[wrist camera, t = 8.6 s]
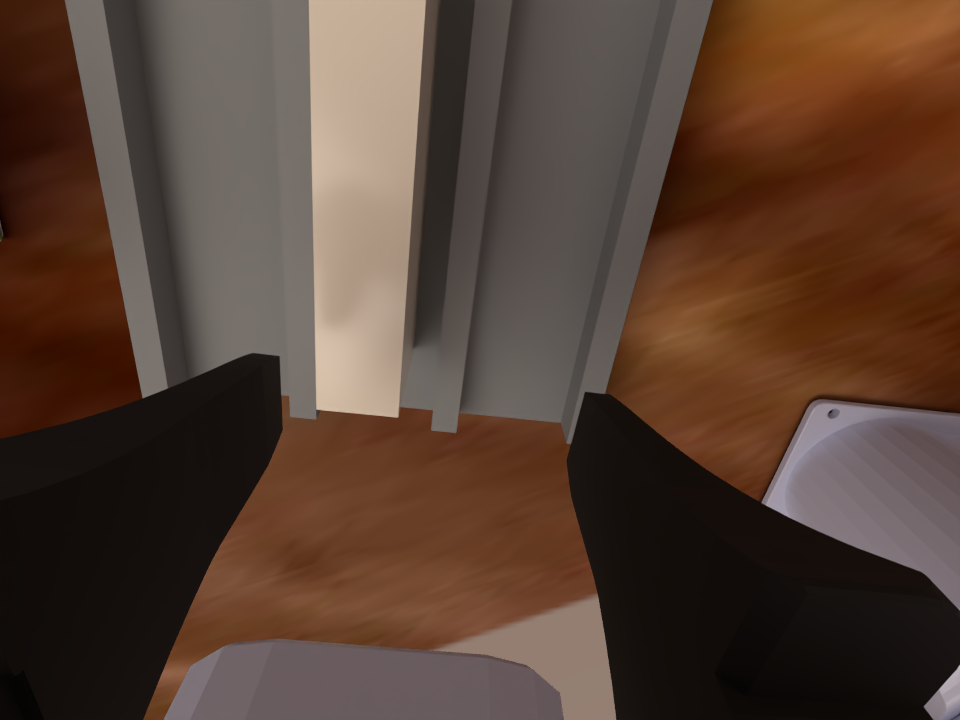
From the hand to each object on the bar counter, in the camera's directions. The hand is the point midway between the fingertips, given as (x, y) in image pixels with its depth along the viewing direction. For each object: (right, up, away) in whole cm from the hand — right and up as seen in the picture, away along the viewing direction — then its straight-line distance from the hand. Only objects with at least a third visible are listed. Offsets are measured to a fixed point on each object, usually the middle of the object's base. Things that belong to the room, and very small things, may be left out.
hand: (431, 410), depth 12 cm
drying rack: (-2, +9, +6) cm, 11 cm away
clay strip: (-2, +8, +5) cm, 10 cm away
